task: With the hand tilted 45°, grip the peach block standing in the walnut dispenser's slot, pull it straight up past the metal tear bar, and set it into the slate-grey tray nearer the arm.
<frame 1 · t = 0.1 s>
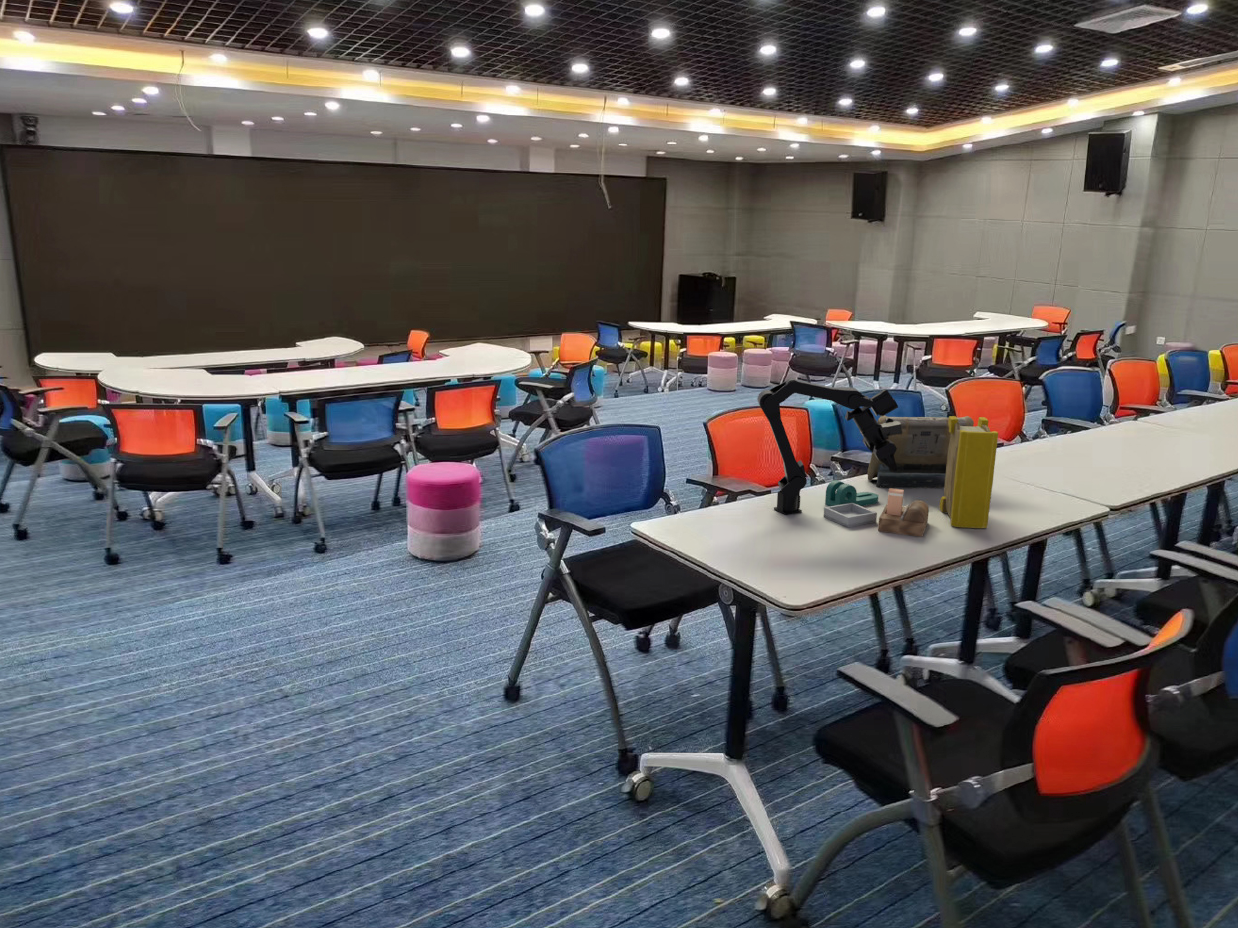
hand: (892, 466, 260), 15 cm above the table, tool tilted 35°, fingers open, 9 cm apart
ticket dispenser: (893, 525, 252), on the table
tray: (849, 519, 257), on the table
decorative book: (962, 518, 259), on the table
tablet: (916, 484, 295), on the table
peach block: (893, 525, 252), resting in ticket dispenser
bracket: (853, 504, 273), on the table
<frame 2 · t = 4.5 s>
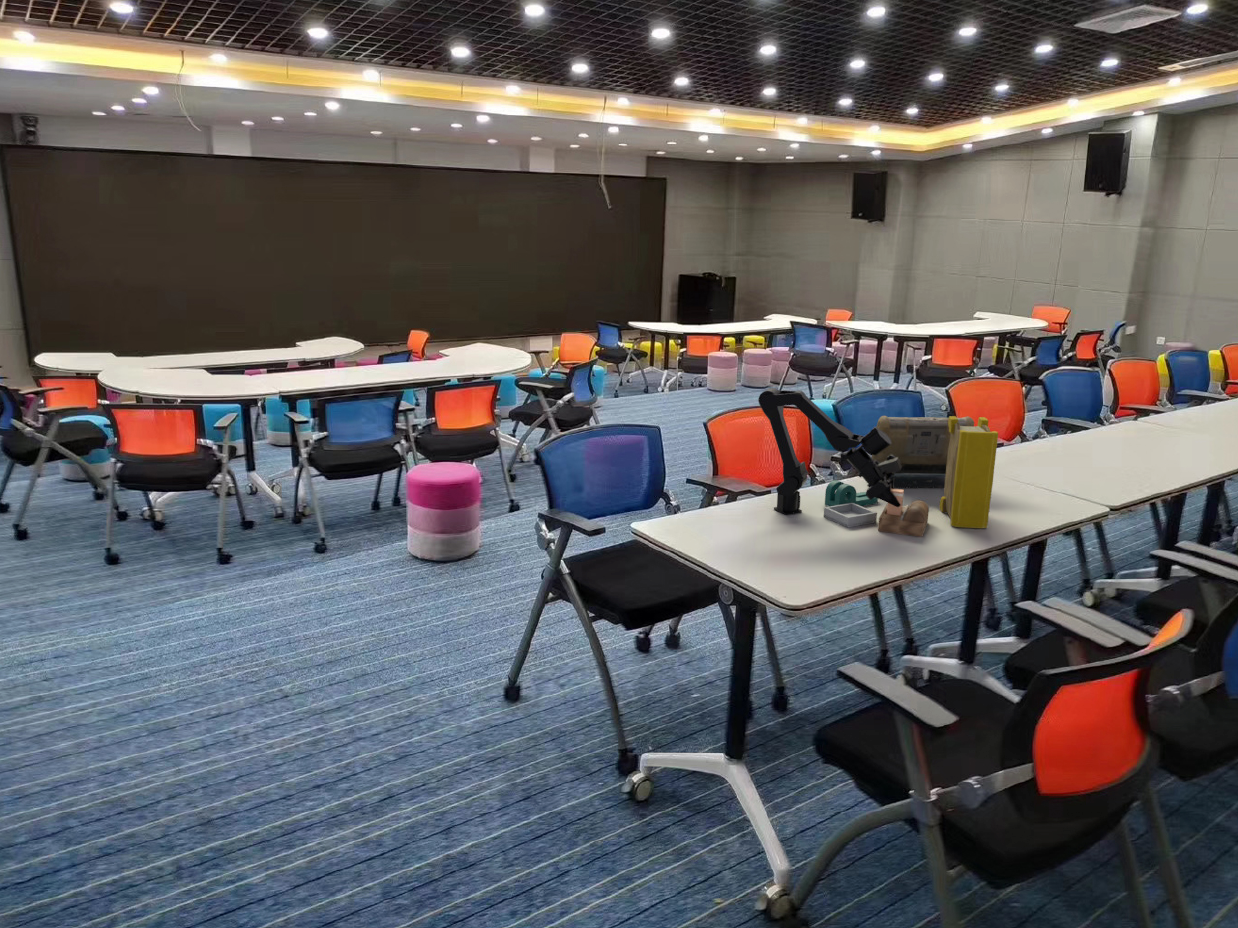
hand: (899, 504, 250), 7 cm above the table, tool tilted 45°, fingers closed on peach block, 2 cm apart
peach block: (893, 525, 252), resting in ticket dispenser, touching gripper
everything else where it was.
when the fingers open (8 cm above the table, at t = 8.4 s): peach block stays where it is, resting on tray.
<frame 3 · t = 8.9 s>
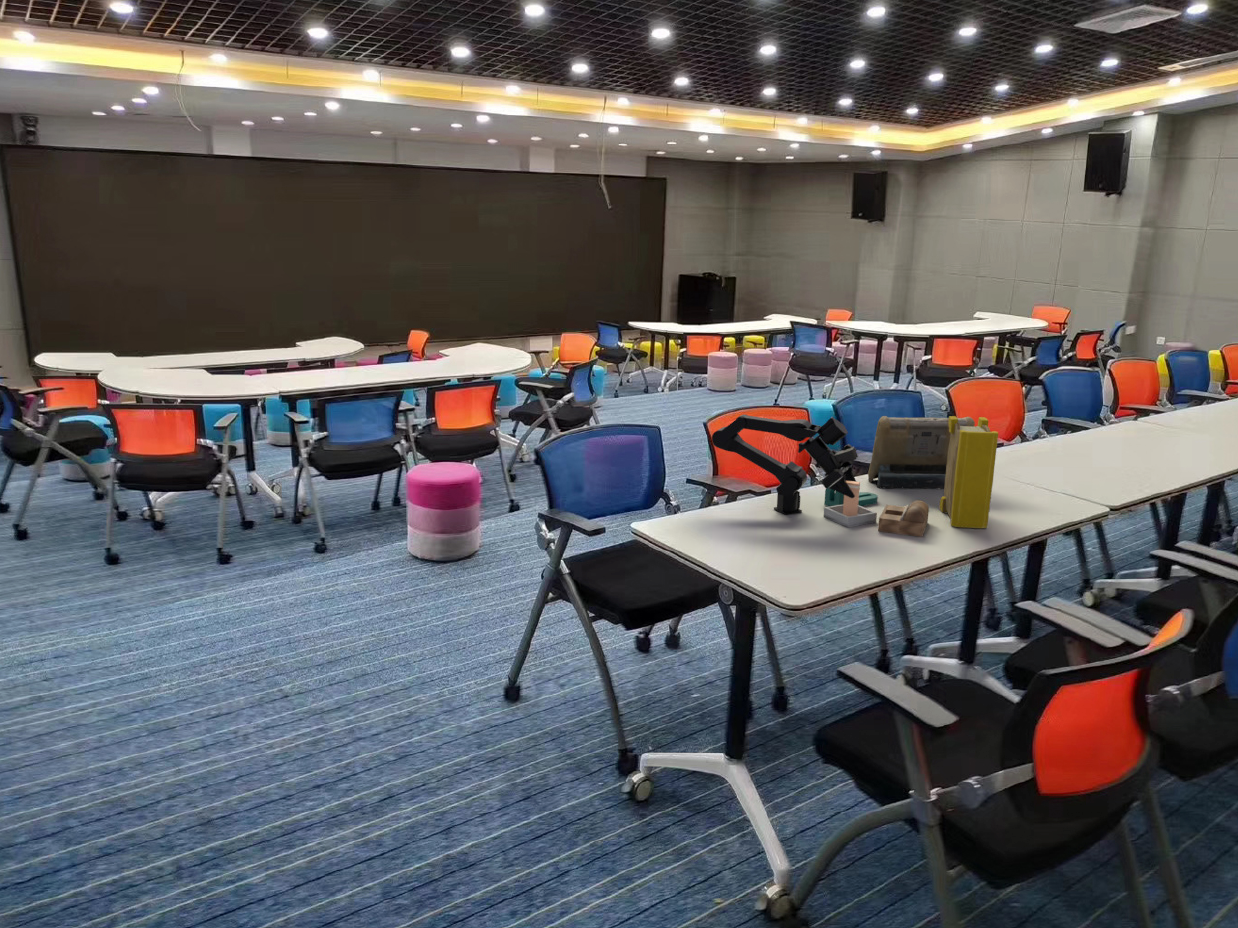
hand: (856, 493, 255), 8 cm above the table, tool tilted 45°, fingers open, 8 cm apart
peach block: (849, 516, 257), point 1 cm above the table, touching tray
everything else where it was.
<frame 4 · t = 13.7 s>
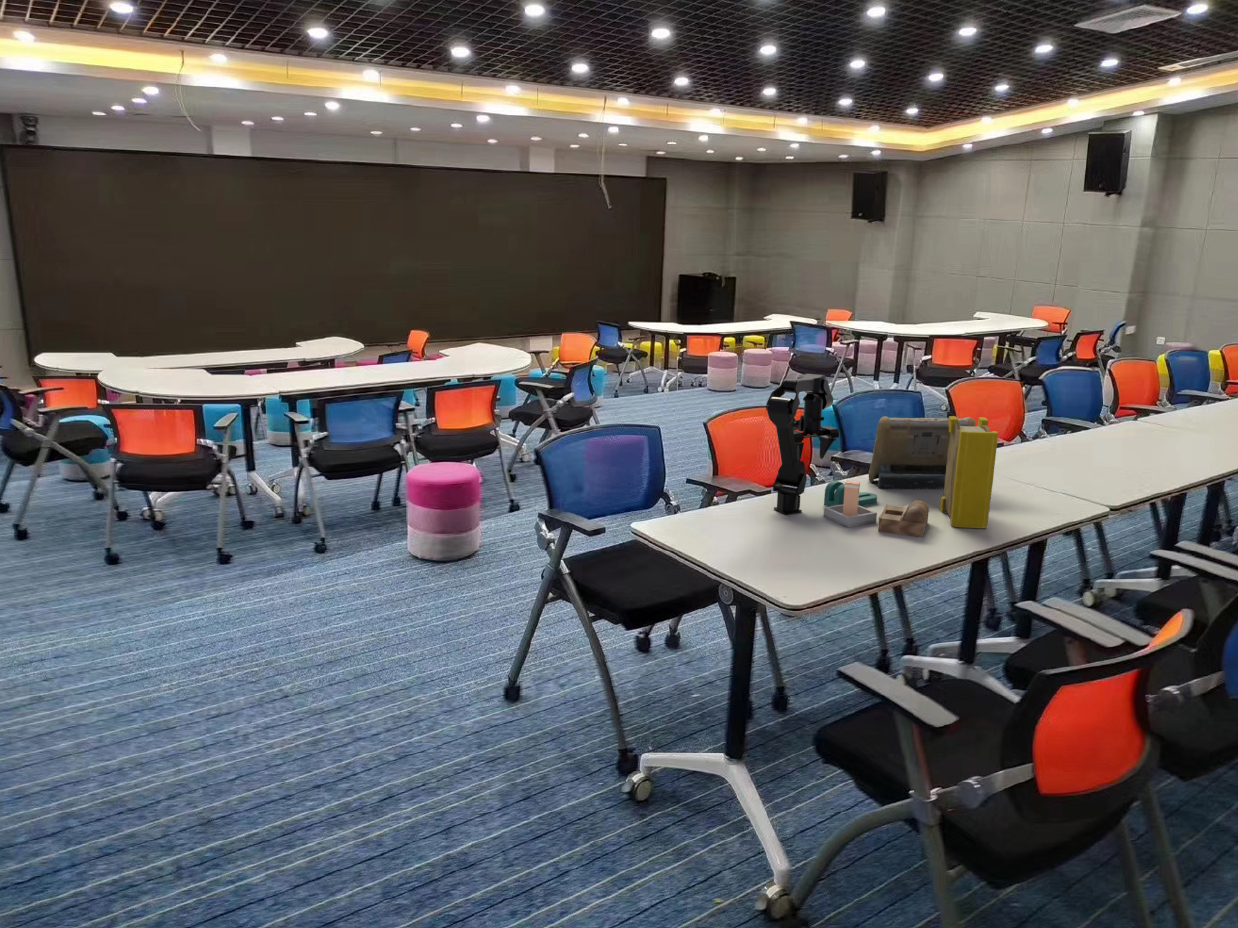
hand: (809, 460, 275), 13 cm above the table, tool pointing down, fingers open, 9 cm apart
at the end: peach block inside the target area on the tray (0.0 cm from its centre), point 0.8 cm above the tray's base; the gripper is holding nothing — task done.
